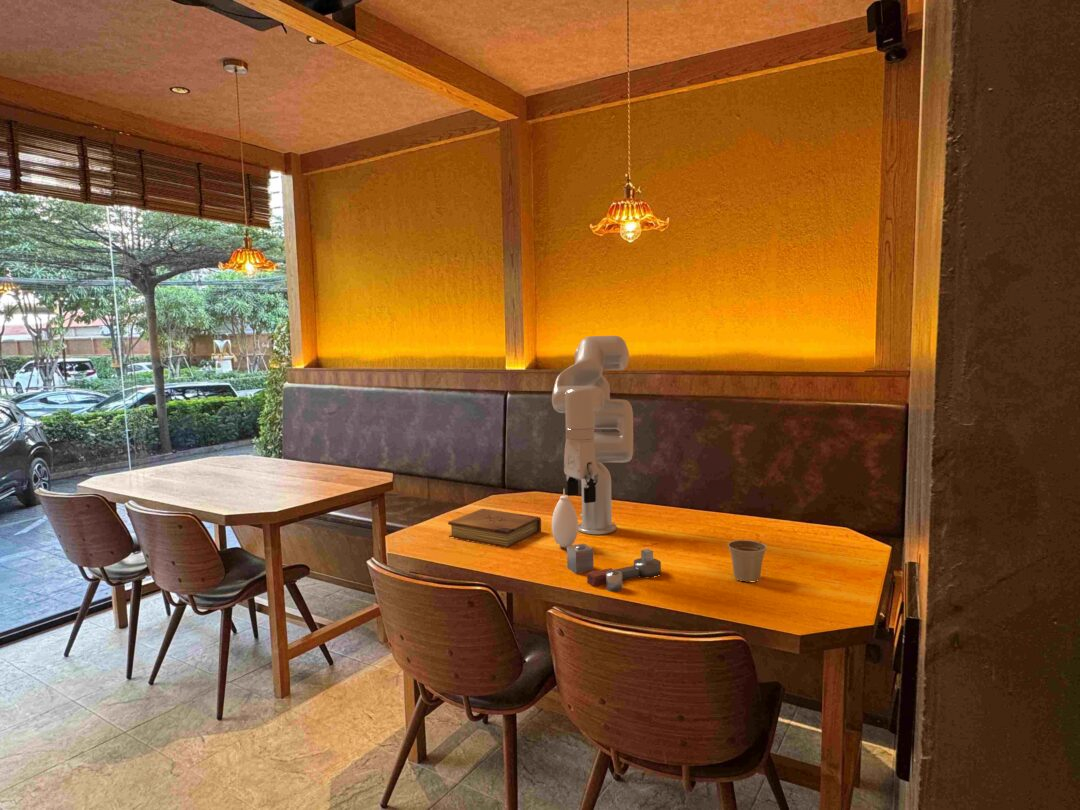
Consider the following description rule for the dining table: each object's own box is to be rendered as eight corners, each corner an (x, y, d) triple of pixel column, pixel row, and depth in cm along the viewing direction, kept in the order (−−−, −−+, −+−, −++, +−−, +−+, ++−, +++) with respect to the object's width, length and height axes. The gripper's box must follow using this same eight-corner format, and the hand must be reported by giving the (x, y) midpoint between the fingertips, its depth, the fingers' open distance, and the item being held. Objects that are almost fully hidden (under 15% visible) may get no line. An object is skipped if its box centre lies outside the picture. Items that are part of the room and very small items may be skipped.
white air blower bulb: (576, 551, 190) (575, 490, 188) (550, 550, 192) (548, 490, 190) (580, 543, 198) (579, 484, 196) (554, 542, 199) (553, 484, 198)
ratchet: (583, 580, 168) (583, 556, 167) (650, 567, 176) (650, 544, 175) (597, 589, 161) (596, 565, 161) (666, 575, 170) (666, 552, 169)
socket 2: (603, 587, 162) (602, 571, 162) (617, 584, 164) (616, 568, 164) (611, 593, 159) (611, 576, 158) (625, 590, 160) (625, 573, 160)
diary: (541, 533, 211) (541, 516, 210) (507, 550, 195) (507, 531, 195) (484, 523, 223) (484, 507, 223) (448, 538, 207) (448, 521, 207)
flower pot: (736, 569, 172) (736, 537, 172) (772, 577, 167) (772, 544, 166) (721, 580, 165) (721, 546, 164) (758, 588, 159) (758, 554, 158)
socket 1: (567, 567, 177) (566, 545, 176) (584, 564, 179) (583, 542, 178) (576, 574, 172) (575, 550, 172) (593, 570, 174) (593, 547, 174)
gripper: (553, 432, 179) (554, 494, 180) (582, 439, 163) (583, 507, 164) (577, 430, 182) (578, 491, 183) (608, 437, 166) (609, 503, 167)
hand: (581, 498), depth 174 cm, fingers open, 9 cm apart
